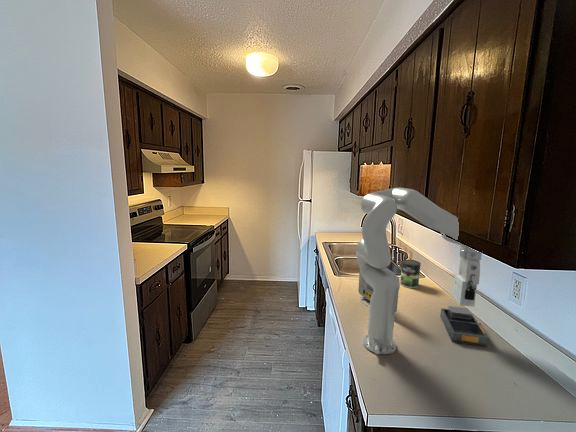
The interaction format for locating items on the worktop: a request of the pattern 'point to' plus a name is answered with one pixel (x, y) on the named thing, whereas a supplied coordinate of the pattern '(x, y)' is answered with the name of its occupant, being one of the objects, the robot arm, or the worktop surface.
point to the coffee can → (410, 273)
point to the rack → (464, 330)
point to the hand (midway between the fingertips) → (465, 294)
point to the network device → (368, 291)
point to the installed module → (459, 314)
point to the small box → (461, 292)
